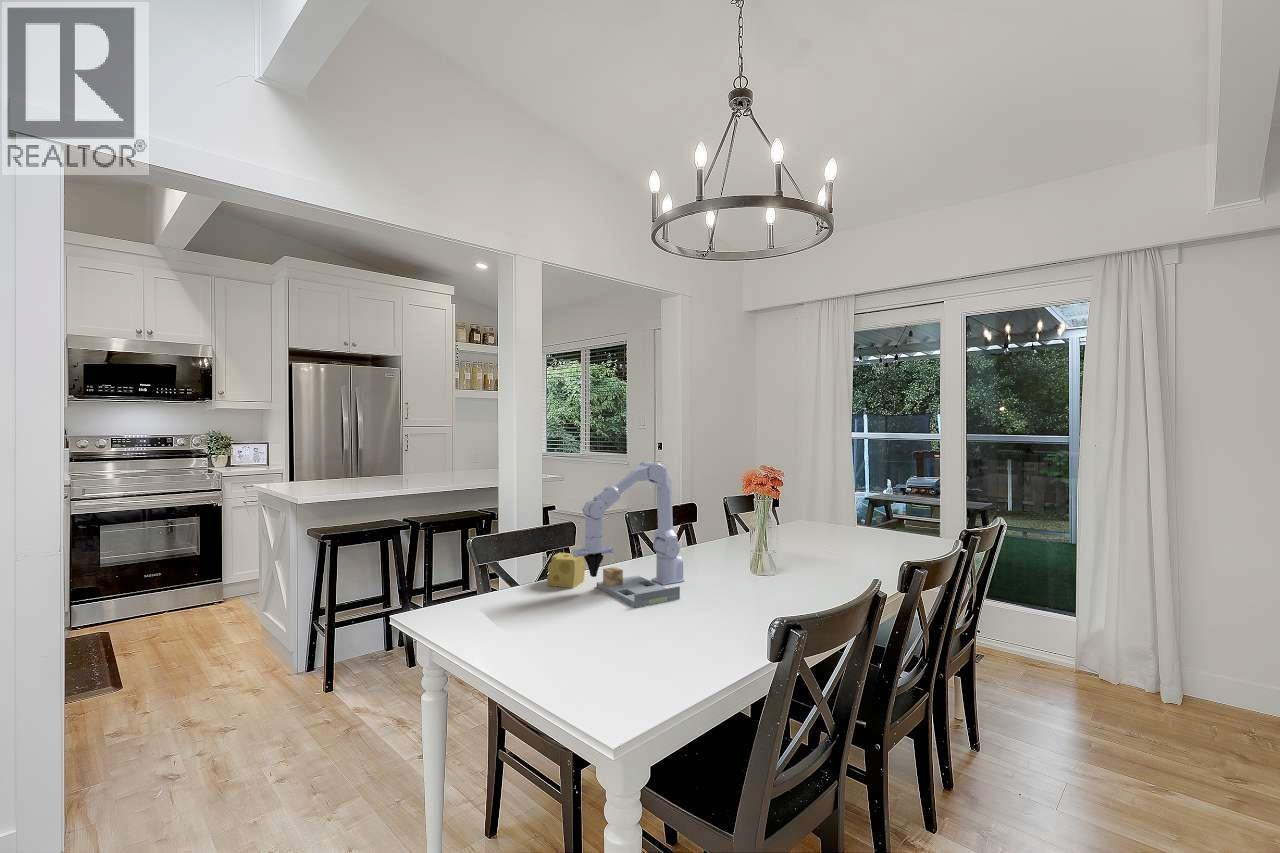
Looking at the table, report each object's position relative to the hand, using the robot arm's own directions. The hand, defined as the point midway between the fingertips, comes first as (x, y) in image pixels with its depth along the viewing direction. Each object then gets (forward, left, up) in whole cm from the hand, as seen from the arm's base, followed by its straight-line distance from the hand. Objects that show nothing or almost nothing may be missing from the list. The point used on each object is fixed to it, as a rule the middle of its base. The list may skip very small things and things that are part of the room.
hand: (593, 576), depth 200 cm
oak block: (-8, 0, -4) cm, 8 cm away
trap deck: (-12, +9, -5) cm, 16 cm away
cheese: (+3, -14, -6) cm, 15 cm away
